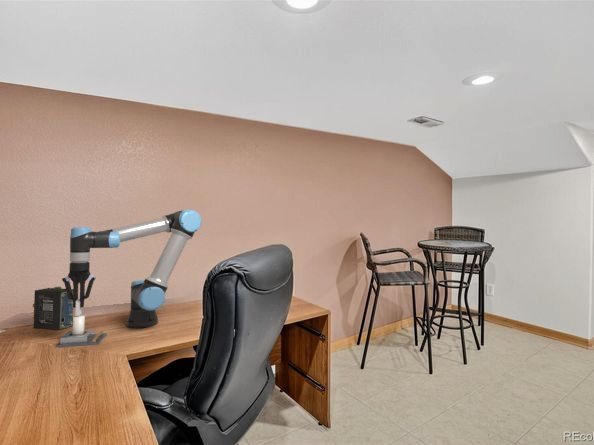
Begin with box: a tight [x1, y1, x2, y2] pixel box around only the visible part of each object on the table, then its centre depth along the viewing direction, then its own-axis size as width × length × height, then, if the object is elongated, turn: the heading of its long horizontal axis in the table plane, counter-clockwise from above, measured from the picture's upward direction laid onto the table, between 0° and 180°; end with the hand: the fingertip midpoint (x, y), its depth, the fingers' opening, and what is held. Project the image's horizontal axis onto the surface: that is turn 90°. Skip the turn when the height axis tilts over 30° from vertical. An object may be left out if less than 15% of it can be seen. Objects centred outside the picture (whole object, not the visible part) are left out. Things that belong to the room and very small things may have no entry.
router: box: [32, 286, 74, 331], centre depth 170 cm, size 8×18×20 cm, turn 78°
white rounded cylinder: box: [71, 314, 86, 336], centre depth 150 cm, size 4×4×10 cm
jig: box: [55, 329, 108, 348], centre depth 150 cm, size 16×13×4 cm
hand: (78, 314), depth 150 cm, fingers closed
